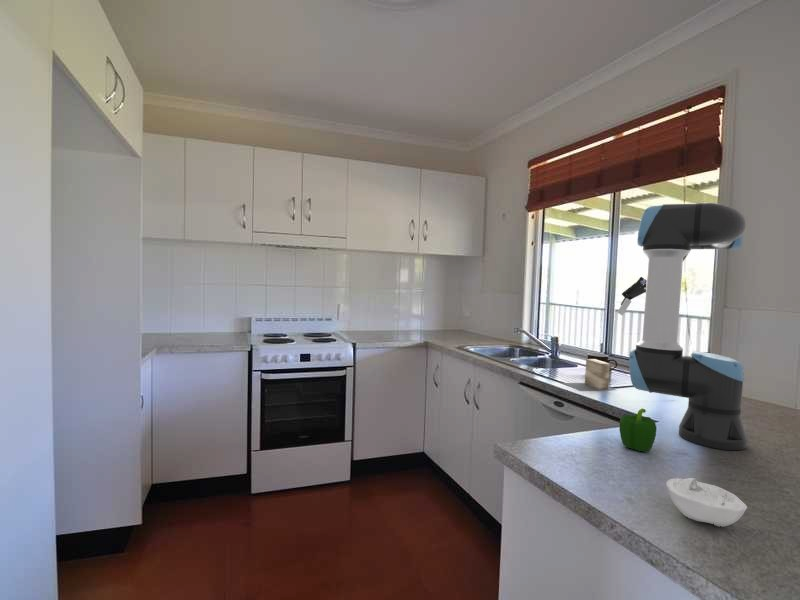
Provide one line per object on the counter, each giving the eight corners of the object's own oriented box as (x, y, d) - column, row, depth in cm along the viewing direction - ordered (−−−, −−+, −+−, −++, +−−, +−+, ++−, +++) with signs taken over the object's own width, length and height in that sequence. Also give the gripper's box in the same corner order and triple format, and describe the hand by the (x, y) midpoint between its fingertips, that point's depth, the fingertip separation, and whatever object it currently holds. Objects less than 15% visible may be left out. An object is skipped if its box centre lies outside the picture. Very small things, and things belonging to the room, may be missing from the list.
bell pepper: (636, 456, 105) (639, 416, 105) (611, 443, 113) (613, 405, 113) (664, 453, 108) (666, 414, 107) (637, 441, 116) (640, 404, 115)
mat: (596, 383, 180) (596, 382, 180) (616, 391, 168) (616, 390, 168) (561, 384, 177) (561, 383, 177) (579, 392, 165) (579, 390, 165)
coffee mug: (581, 375, 195) (583, 353, 194) (595, 374, 198) (596, 352, 198) (603, 381, 184) (605, 358, 184) (617, 380, 188) (619, 357, 187)
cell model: (732, 546, 70) (735, 505, 70) (653, 512, 80) (656, 476, 80) (753, 527, 76) (756, 489, 76) (677, 497, 86) (680, 464, 85)
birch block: (593, 383, 178) (594, 359, 178) (608, 388, 169) (609, 363, 169) (584, 383, 177) (586, 359, 177) (599, 389, 169) (600, 363, 168)
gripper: (701, 283, 155) (668, 333, 156) (641, 269, 178) (614, 313, 179) (690, 273, 152) (657, 325, 153) (631, 260, 174) (603, 305, 176)
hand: (634, 319), depth 166 cm, fingers open, 13 cm apart
